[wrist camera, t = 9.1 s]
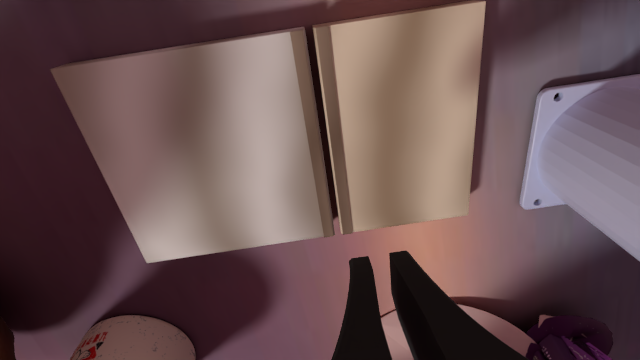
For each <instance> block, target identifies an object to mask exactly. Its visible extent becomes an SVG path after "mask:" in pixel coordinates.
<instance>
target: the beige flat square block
mask: <svg viewBox="0 0 640 360" xmlns="http://www.w3.org/2000/svg"><path fill="white" fill-rule="evenodd" d="M50 71H51V73H52V75H53V77H54V79H55V81H56V83H57V85H58V87H59V89H60V91H61V93H62V95H63V97H64V99H65V101H66V103H67V105H68V107H69V109H70V111H71V113H72V115H73V117H74V119H75V121H76V123H77V125H78V127H79V129H80V131H81V133H82V135H83V137H84V139H85V141H86V143H87V145H88V147H89V149H90V151H91V153H92V155H93V157H94V159H95V161H96V163H97V165H98V167H99V169H100V171H101V173H102V175H103V177H104V179H105V181H106V183H107V185H108V187H109V189H110V191H111V193H112V195H113V197H114V199H115V201H116V203H117V205H118V207H119V209H120V211H121V213H122V215H123V217H124V219H125V221H126V223H127V225H128V227H129V229H130V231H131V233H132V235H133V237H134V239H135V241H136V243H137V245H138V247H139V249H140V251H141V253H142V255H143V257H144V259H145V261H146V263H152V262H158V261H165V260H172V259H178V258H185V257H191V256H198V255H205V254H211V253H218V252H225V251H231V250H238V249H244V248H251V247H258V246H264V245H271V244H277V243H284V242H291V241H297V240H304V239H311V238H317V237H330V236H333V235H335V232H334V225H333V218H332V211H331V205H330V198H329V191H328V184H327V177H326V170H325V164H324V157H323V150H322V143H321V136H320V130H319V123H318V116H317V109H316V102H315V95H314V89H313V82H312V75H311V68H310V61H309V55H308V48H307V41H306V34H305V28H304V27H298V28H291V29H285V30H279V31H272V32H266V33H259V34H253V35H247V36H240V37H234V38H228V39H221V40H215V41H208V42H202V43H196V44H189V45H183V46H176V47H170V48H164V49H157V50H151V51H145V52H138V53H132V54H125V55H119V56H113V57H106V58H100V59H94V60H87V61H81V62H74V63H68V64H65V65H62V66H59V67H56V68H52V69H50Z"/></svg>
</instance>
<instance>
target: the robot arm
mask: <svg viewBox="0 0 640 360" xmlns="http://www.w3.org/2000/svg"><path fill="white" fill-rule="evenodd" d="M557 93H559V95H558V97H557V98H556V99H554V96H555V95H556V94H557ZM537 199H538V200H537ZM535 200H537V201H536V202H534V201H535ZM562 204H567V205H569V206H570V207H571V208H572V209H574V210H575V211H576V212H577V213H579V214H580V215H581V216H583V217H584V218H585V219H586V220H588V221H589V222H590V223H591V224H593V225H594V226H595V227H597V228H598V229H599V230H600V231H602V232H603V233H604V234H605V235H607V236H608V237H609V238H610V239H612V240H613V241H614V242H616V243H617V244H618V245H619V246H621V247H622V248H623V249H624V250H626V251H627V252H628V253H630V254H631V255H632V256H633V257H635V258H636V259H637V260H638V261H640V74H635V75H629V76H622V77H616V78H609V79H603V80H596V81H589V82H583V83H576V84H570V85H563V86H557V87H550V88H545V89H543V90H542V91H540V93H539V94H538V96H537V100H536V106H535V112H534V118H533V124H532V130H531V136H530V142H529V148H528V154H527V160H526V166H525V172H524V178H523V184H522V190H521V196H520V205H521V206H522V207H523V208H524V209H535V208H542V207H548V206H555V205H562ZM389 254H390V273H391V292H392V296H393V300H394V304H395V308H396V312H397V315H398V319H399V322H400V325H401V327H402V330H403V332H404V335H405V338H406V340H407V343H408V346H409V348H410V351H411V353H412V356H413V359H414V360H529V359H528V358H526V357H525V356H523V355H522V354H520V353H519V352H517V351H516V350H514V349H513V348H511V347H510V346H508V345H507V344H505V343H504V342H502V341H501V340H500V339H498V338H497V337H496V336H494V335H493V334H492V333H490V332H489V331H488V330H486V329H485V328H484V327H483V326H481V325H480V324H479V323H478V322H476V321H475V320H474V319H473V318H472V317H470V316H469V315H468V314H467V313H466V312H465V311H464V310H462V309H461V308H460V307H459V306H458V305H457V304H456V303H455V302H454V301H453V300H452V299H451V298H449V297H448V296H447V295H446V294H445V293H444V292H443V291H442V290H441V289H440V288H439V287H438V285H437V284H436V283H435V282H434V281H433V280H432V279H431V278H430V277H429V276H428V275H427V274H426V273H425V272H424V270H423V269H422V268H421V267H420V266H419V265H418V263H417V262H416V261H415V260H414V259H413V257H412V256H411V255H410V254H409V252H407V251H400V252H393V253H389ZM349 265H350V283H349V292H348V299H347V305H346V310H345V314H344V319H343V323H342V327H341V331H340V335H339V338H338V342H337V345H336V348H335V351H334V354H333V357H332V360H392V357H391V354H390V350H389V347H388V344H387V340H386V337H385V333H384V330H383V326H382V322H381V317H380V312H379V305H378V299H377V293H376V286H375V280H374V274H373V269H372V266H371V263H370V260H369V257H368V256H366V257H359V258H352V259H351V260H350V261H349Z"/></svg>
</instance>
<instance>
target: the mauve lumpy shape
mask: <svg viewBox="0 0 640 360" xmlns="http://www.w3.org/2000/svg"><path fill="white" fill-rule="evenodd" d="M457 305H458V306H459V307H460V308H461V309H462V310H464V311H465V312H466V313H467V314H468V315H469V316H470V317H472V318H473V319H474V320H475V321H476V322H478V323H479V324H480V325H481V326H483V327H484V328H485V329H486V330H488V331H489V332H490V333H492V334H493V335H494V336H496V337H497V338H498V339H500V340H501V341H502V342H504V343H505V344H507V345H508V346H510V347H511V348H513V349H514V350H516V351H517V352H519V353H520V354H522V355H523V356H525V357H526V358H528V359H529V360H612V359H611V358H610V357H608V356H607V355H608V354H609V352H610V350H611V348H612V345H613V337H612V332H611V331H610V330H609V329H608V327H607V326H606V325H605V324H603V323H601V322H599V321H597V320H595V319H592V318H587V317H581V316H569V315H561V316H556V317H552V316H547V315H545V314H544V315H540V317H539V323H537V324H535V325H534V326H533V327H532V328H531V329H530V330H529V331H528V332H527V333H526V334H525V333H524V332H522V331H521V330H520V329H518V328H517V327H515V326H514V325H512V324H511V323H509V322H507V321H505V320H503V319H501V318H499V317H497V316H495V315H493V314H490V313H488V312H485V311H483V310H479V309H476V308H473V307H469V306H465V305H460V304H457ZM381 322H382V326H383V330H384V333H385V337H386V340H387V344H388V347H389V350H390V354H391V357H392V360H414V359H413V356H412V353H411V351H410V348H409V346H408V343H407V340H406V338H405V335H404V332H403V330H402V327H401V325H400V322H399V319H398V315H397V312H396V311H393V312H391V313H389V314H387V315H385V316H383V317H382V318H381Z"/></svg>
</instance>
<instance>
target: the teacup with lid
mask: <svg viewBox="0 0 640 360" xmlns="http://www.w3.org/2000/svg"><path fill="white" fill-rule="evenodd" d="M195 357H196V356H195V349H194V346H193V344H192V342H191V341H190V339H189V338H188V337H187V336H186V335H185V334H184V333H183V332H182V331H181V330H180V329H178V328H177V327H175V326H173V325H171V324H169V323H167V322H165V321H162V320H159V319H156V318H152V317H147V316H140V315H124V316H117V317H112V318H109V319H106V320H104V321H101V322H99V323H98V324H96V325H95V326H93V327H92V328H91V329H90V330H88V332H87V333H86V334H85V336H84V337H83V339H82V340H81V342H80V344H79V345H78V347H77V349H76V350H75V352H74V353H73V355H72V357H71V358H70V360H195Z"/></svg>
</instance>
